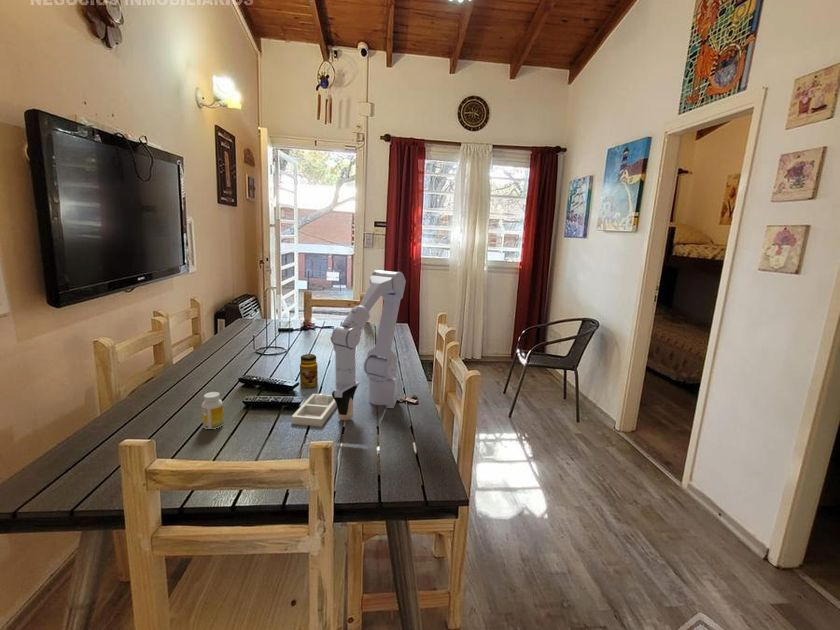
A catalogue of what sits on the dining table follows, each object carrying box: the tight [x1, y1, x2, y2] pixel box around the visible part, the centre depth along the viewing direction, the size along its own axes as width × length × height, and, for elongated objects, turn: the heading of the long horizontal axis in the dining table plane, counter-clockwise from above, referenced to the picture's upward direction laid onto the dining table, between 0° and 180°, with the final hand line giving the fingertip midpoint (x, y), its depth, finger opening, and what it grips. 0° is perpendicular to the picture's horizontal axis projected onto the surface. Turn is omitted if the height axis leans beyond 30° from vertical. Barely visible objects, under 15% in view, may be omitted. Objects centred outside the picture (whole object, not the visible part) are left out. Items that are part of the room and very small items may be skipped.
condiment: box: [299, 353, 319, 390], centre depth 147 cm, size 7×8×12 cm
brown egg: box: [337, 398, 354, 421], centre depth 122 cm, size 4×4×7 cm
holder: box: [291, 393, 337, 427], centre depth 127 cm, size 9×17×3 cm, turn 174°
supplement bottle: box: [201, 391, 225, 430], centre depth 117 cm, size 5×5×10 cm
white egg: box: [314, 392, 328, 406], centre depth 131 cm, size 4×4×4 cm
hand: (345, 410), depth 122 cm, fingers closed on brown egg, 4 cm apart
